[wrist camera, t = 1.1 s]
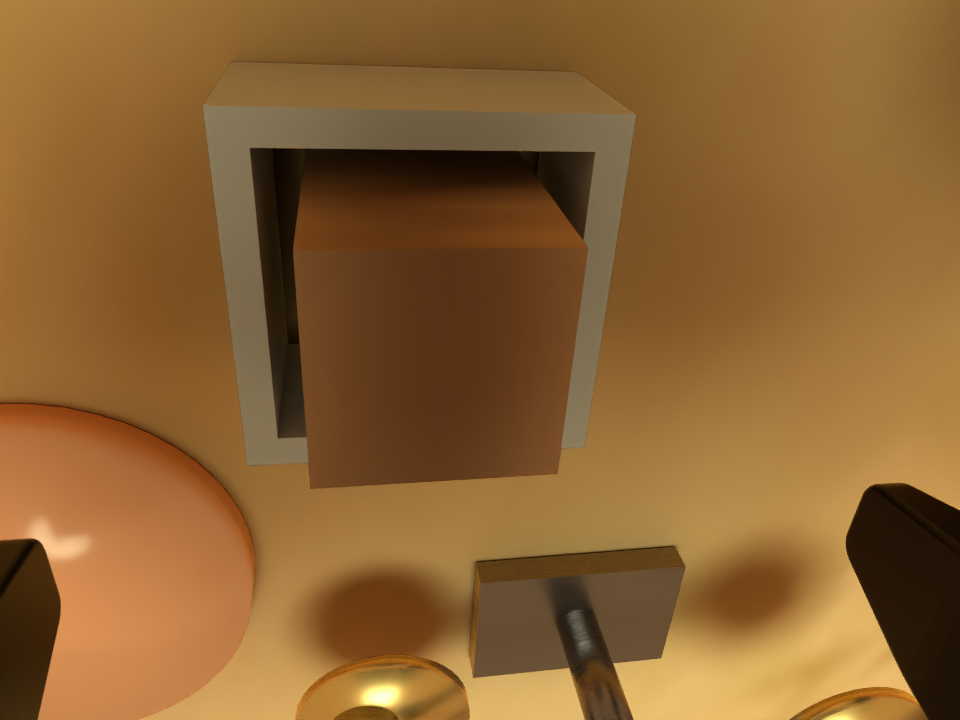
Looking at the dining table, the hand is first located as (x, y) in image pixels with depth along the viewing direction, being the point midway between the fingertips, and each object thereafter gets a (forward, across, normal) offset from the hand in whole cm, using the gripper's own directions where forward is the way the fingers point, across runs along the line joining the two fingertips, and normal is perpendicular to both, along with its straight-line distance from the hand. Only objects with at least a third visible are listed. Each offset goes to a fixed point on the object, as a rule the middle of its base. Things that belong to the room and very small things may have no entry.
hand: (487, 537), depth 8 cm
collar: (+9, 0, 0) cm, 9 cm away
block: (+10, 0, 0) cm, 10 cm away
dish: (+9, +9, +9) cm, 16 cm away
